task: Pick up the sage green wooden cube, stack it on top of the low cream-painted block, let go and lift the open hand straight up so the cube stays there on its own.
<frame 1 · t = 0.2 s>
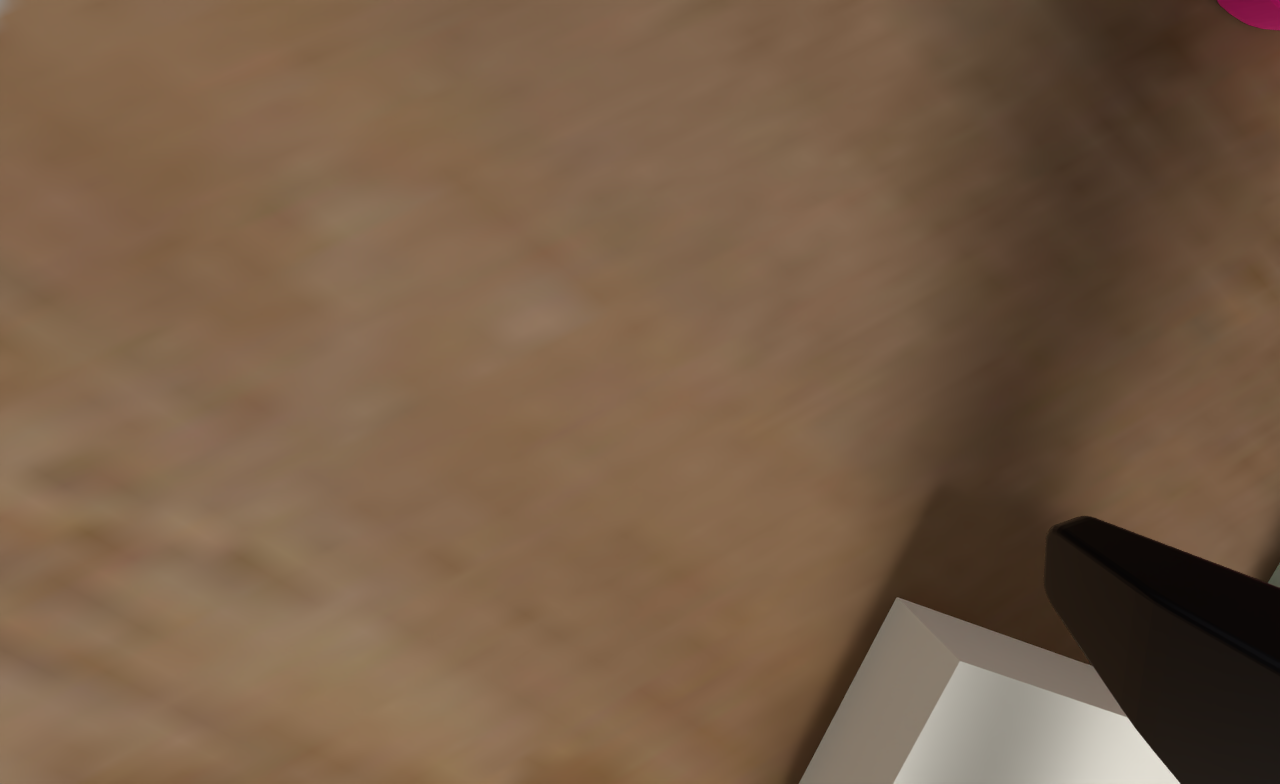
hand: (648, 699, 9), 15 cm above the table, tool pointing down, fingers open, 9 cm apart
cream block: (944, 762, 31), on the table
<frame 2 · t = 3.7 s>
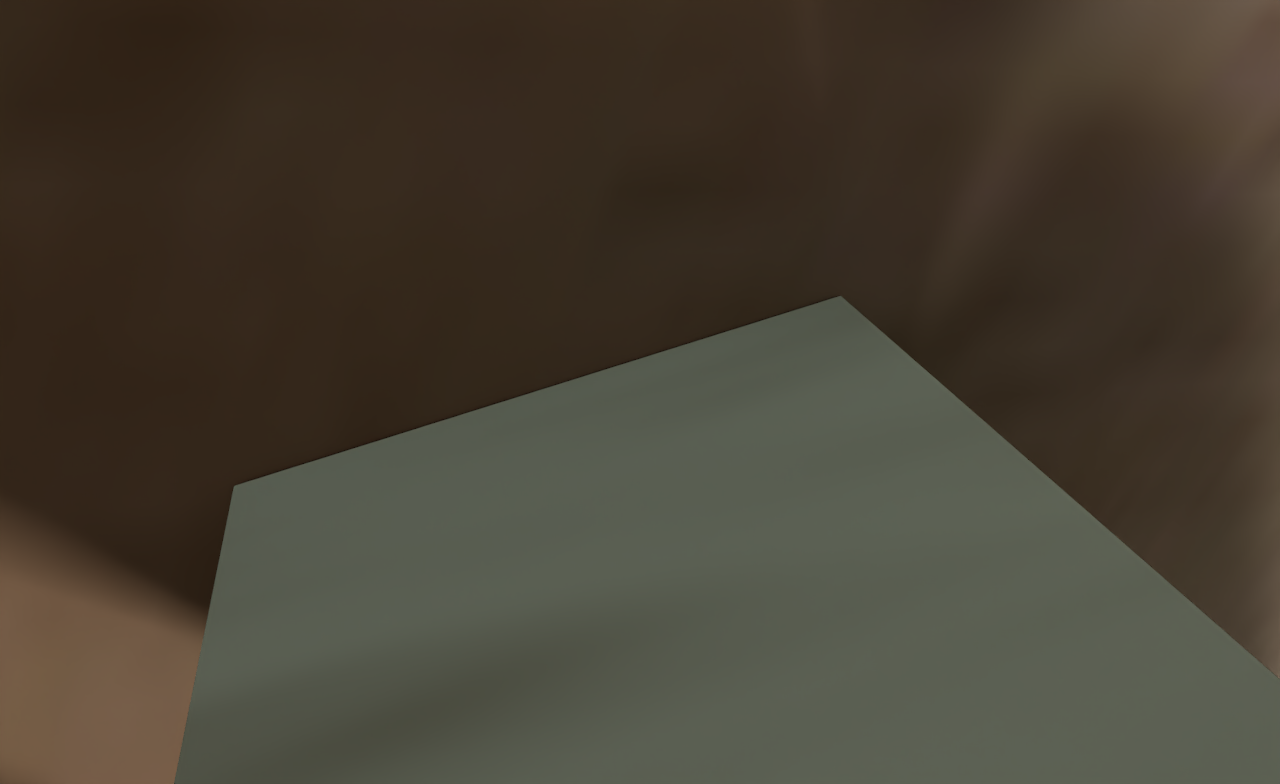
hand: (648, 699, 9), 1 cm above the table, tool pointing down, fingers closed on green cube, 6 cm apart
green cube: (616, 608, 10), on the table, touching gripper
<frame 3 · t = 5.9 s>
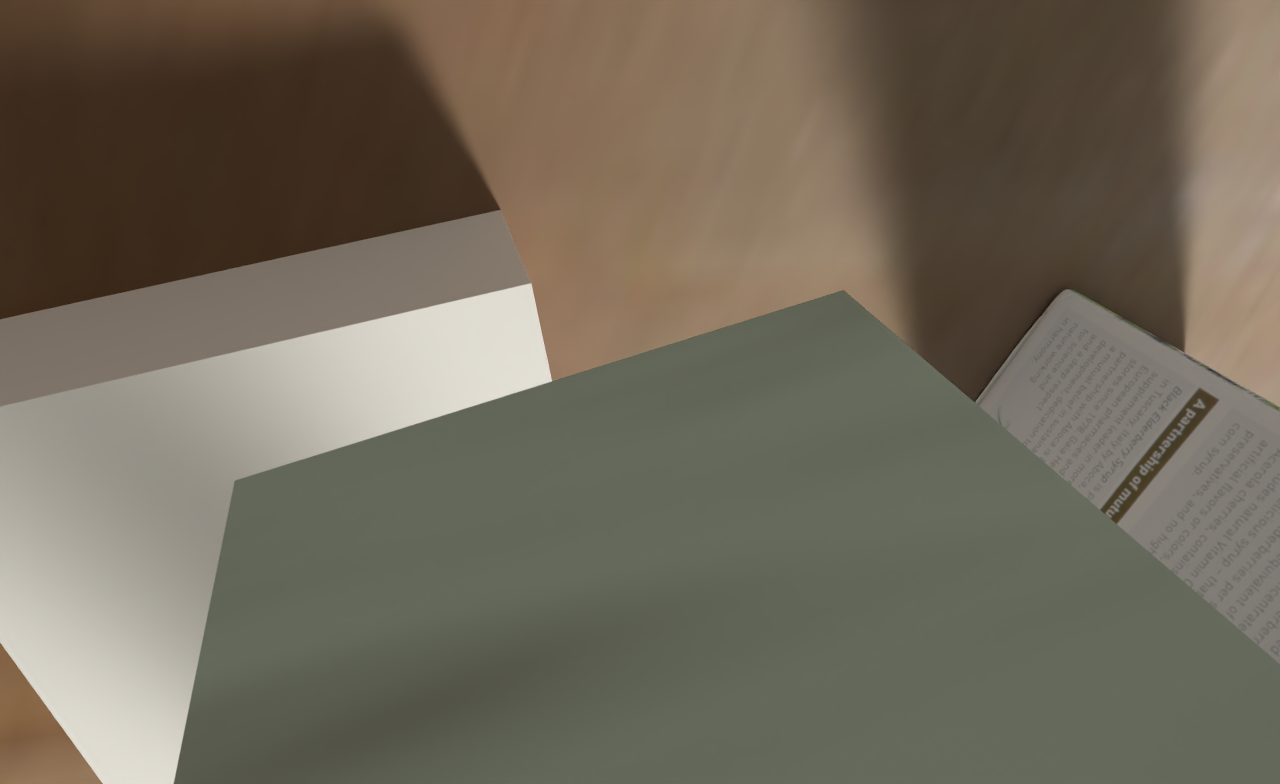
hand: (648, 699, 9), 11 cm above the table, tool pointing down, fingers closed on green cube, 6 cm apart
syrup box: (1056, 402, 25), on the table
green cube: (617, 604, 10), point 10 cm above the table, touching gripper
cream block: (321, 469, 20), on the table
when the fingers open (6 cm above the table, at t = 8.4 s): green cube drops 1 cm, point 4 cm above the table.
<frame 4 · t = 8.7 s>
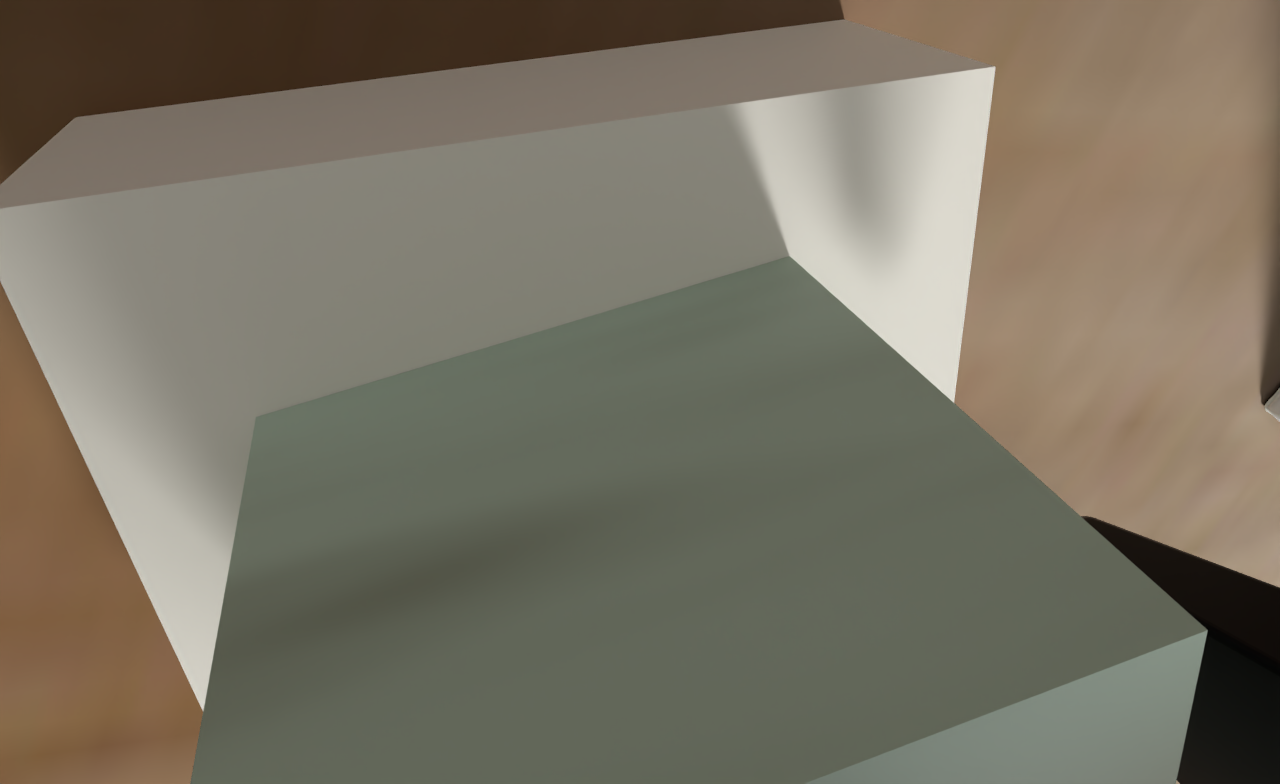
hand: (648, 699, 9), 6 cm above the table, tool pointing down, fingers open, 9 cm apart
green cube: (593, 538, 11), point 4 cm above the table
cream block: (535, 381, 15), on the table
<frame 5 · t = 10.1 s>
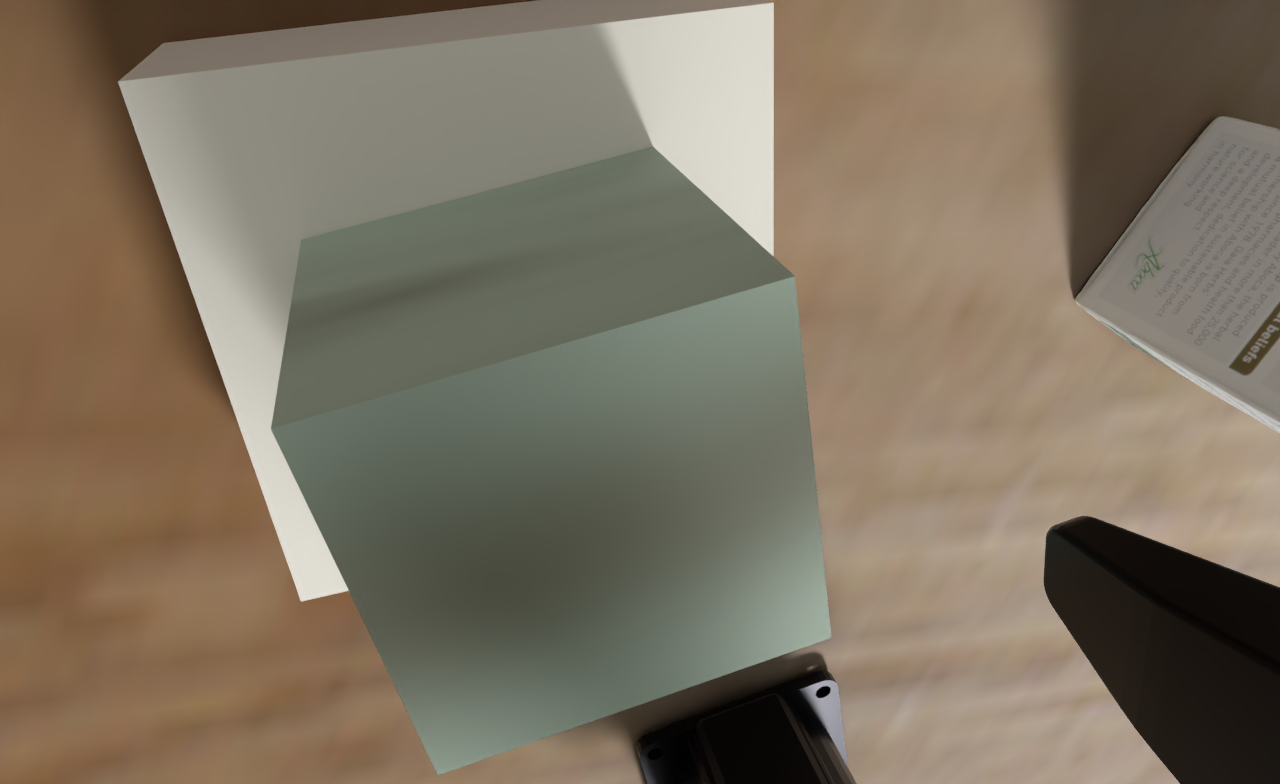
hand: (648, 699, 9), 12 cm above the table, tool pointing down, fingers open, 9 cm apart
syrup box: (1194, 248, 25), on the table
green cube: (526, 347, 17), point 4 cm above the table
cream block: (488, 254, 20), on the table
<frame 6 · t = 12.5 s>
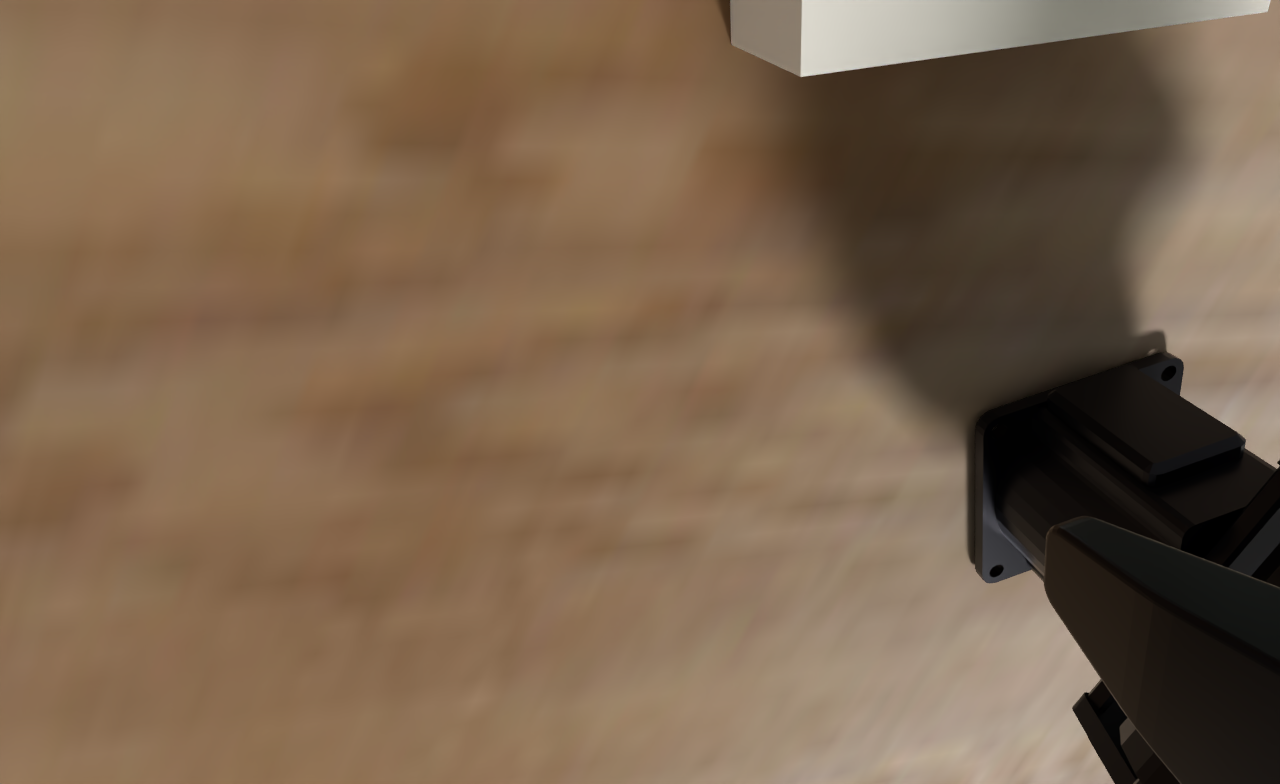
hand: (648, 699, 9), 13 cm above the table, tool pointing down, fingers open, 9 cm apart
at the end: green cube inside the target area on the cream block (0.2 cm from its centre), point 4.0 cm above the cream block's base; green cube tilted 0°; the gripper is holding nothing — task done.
